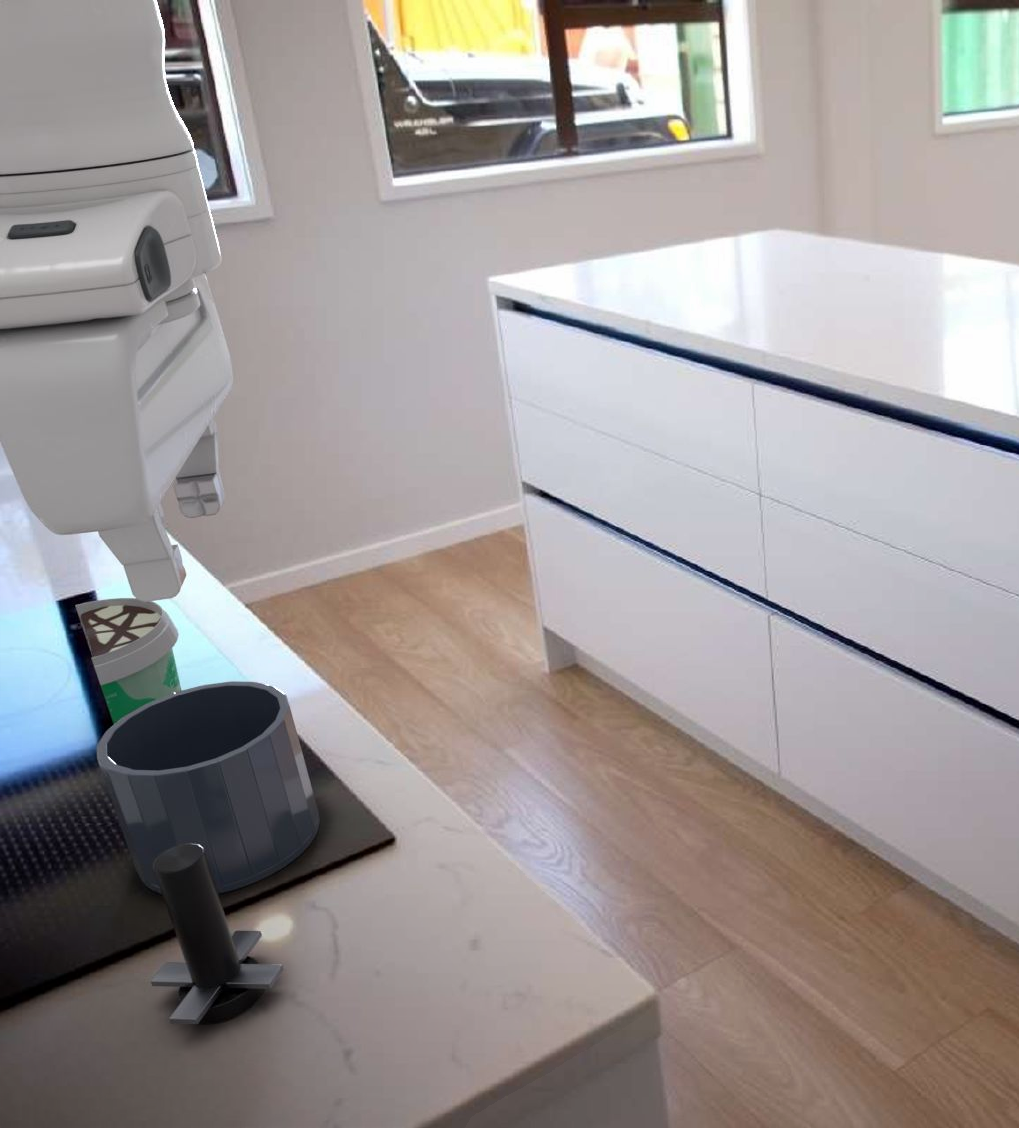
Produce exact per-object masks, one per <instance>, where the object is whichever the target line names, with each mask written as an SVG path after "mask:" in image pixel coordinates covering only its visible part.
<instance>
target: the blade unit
mask: <svg viewBox="0 0 1019 1128" xmlns="http://www.w3.org/2000/svg"><path fill="white" fill-rule="evenodd" d="M153 869H154V872H155V875H156V878H157V881H158V884H159V886H160V889H161V892H162V894H161V896H162V898H163V901H164V904H165V906H166V910H167V913H168V916H169V919H170V921H171V924H172V927H173V930H174V934H175V936H176V939H177V941H178V945H179V947H180V951H181V954H182V957H183V960H184V962H182V961H181V962H180V961H179V962H173V961H167V962H165V963H164V964H163V965H162V966H161V968H160V969H159V970H158V971H157V973H156V974H155V975H154V976H153V978H152V979H151V980H150V983H151V986H152V987H162V988H163V987H165V988H167V987H169V988H178V992H177V998H178V1001H179V1004H178V1006H177V1007H176V1008H175V1010H174V1011H173V1012H172V1014H171V1015H170V1017H169V1018H168V1020H169V1022H170V1024H173V1025H175V1024H176V1025H213V1024H214V1025H215V1024H219V1023H223V1022H227V1021H229V1020H231V1019H234V1018H236V1017H238V1016H240V1015H242V1014H244V1013H245V1012H247V1010H249V1009H250V1008H252V1007H253V1006H254V1005H255V1004H256V1003H257V1002H258V1001H259V999H260V998H261V997H262V995H263V994H264V993H263V992H264V990H271V989H273V988H272V987H273V986H274V985H275V983H276V982H277V980H278V979H279V978H280V976H281V974H282V973H283V971H284V970H285V969H284V966H283V964H276V963H275V964H274V963H272V964H271V963H268V964H267V963H259V962H258V960H256V959H255V958H254V957H251V956H249V954H250V953H251V952H252V951H253V949H254V948H255V946H256V945H257V943H259V941H260V940H261V938H262V937H263V934H262V931H261V930H235V931H234V933H231V932H232V931H231V930H230V926H229V922H228V919H227V917H226V914H225V911H224V907H223V904H222V900H221V898H220V895H219V894H218V891H217V888H216V885H215V882H214V879H213V876H212V873H211V870H210V866H209V863H208V860H207V857H206V854H205V851H204V849H203V847H201V846H200V845H198V844H183V845H178V846H175V847H173V848H170V849H168V850H166V851H165V852H163V853H162V854H160V855H159V856H158V857H157V858H156V859H155V861H154V863H153Z"/></svg>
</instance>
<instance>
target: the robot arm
mask: <svg viewBox="0 0 1019 1128" xmlns="http://www.w3.org/2000/svg"><path fill="white" fill-rule="evenodd" d="M160 12H161V11H160V9H159V5H158V1H157V0H0V445H1V448H2V450H3V452H4V455H5V457H6V460H7V463H8V464H9V466H10V469H11V471H12V474H13V476H14V478H15V480H16V483H17V486H18V488H19V490H20V492H21V495H22V496H23V499H24V501H25V502H26V505H27V506H28V508H29V510H30V511H31V513H33V515H34V516H35V517H36V518H37V519H38V520H39V521H40V522H41V523H42V525H43V526H45V528H46V529H48V530H49V531H50V532H52V533H53V534H55V535H59V536H70V535H79V534H87V533H96V532H97V533H98V536H99V538H100V539H101V541H103V543H104V544H105V545H106V547H107V548H108V549H109V551H110V552H111V554H113V555H114V556H115V558H116V559H117V561H118V562H119V563H120V565H122V566H123V569H124V573H125V575H126V578H127V582H128V585H129V588H130V591H131V594H132V596H133V598H136V599H137V600H140V601H143V602H149V601H152V602H154V601H162V600H170V599H174V598H175V597H177V596H178V595H179V594H180V592H181V589H182V586H183V584H184V582H185V580H186V577H187V572H186V568H185V566H184V564H183V558H182V553H181V550H180V547H179V544H178V543H177V544H172V543H171V540H170V538H169V535H168V534H167V531H166V529H165V526H164V524H163V521H162V520H163V518H164V517H165V512H164V509H163V505H162V500H163V498H164V497H165V496H166V494H167V492H168V490H169V489H170V487H171V486H172V487H173V491H174V493H175V498H176V500H177V502H178V508H179V511H180V513H181V514H182V515H183V516H184V517H186V518H190V519H197V518H201V517H210V516H215V515H217V514H218V513H219V512H220V510H221V508H222V507H223V505H224V503H225V501H226V498H227V495H226V492H225V487H224V484H223V480H222V477H221V472H220V461H219V460H220V458H219V442H218V427H217V424H216V420H215V415H216V414H217V412H218V410H219V408H220V407H221V406H222V404H223V402H224V401H225V399H226V398H227V396H228V394H229V392H230V391H231V390H232V388H233V385H234V374H233V372H234V371H233V364H232V359H231V354H230V351H229V348H228V343H227V339H226V336H225V333H224V330H223V326H222V323H221V320H220V315H219V312H218V310H217V307H216V303H215V299H214V297H213V294H212V291H211V287H210V284H209V281H208V277H207V275H206V274H207V273H210V272H212V271H213V270H215V269H217V268H218V267H219V266H221V264H222V262H223V256H222V253H221V249H220V245H219V240H218V237H217V234H216V229H215V225H214V221H213V217H212V214H211V210H210V206H209V202H208V198H207V194H206V190H205V186H204V182H203V178H202V175H201V171H200V167H199V162H198V158H197V154H196V150H195V148H194V142H193V139H192V137H191V134H190V132H189V131H188V128H187V127H186V125H185V123H184V121H183V120H182V118H181V117H180V115H179V113H178V110H177V109H176V107H175V105H174V102H173V100H172V96H171V94H170V91H169V87H168V84H167V78H166V71H165V70H166V69H165V47H166V38H165V28H164V24H163V23H164V22H163V19H162V17H161V16H162V15H161V13H160Z"/></svg>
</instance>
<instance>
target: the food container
mask: <svg viewBox="0 0 1019 1128" xmlns="http://www.w3.org/2000/svg"><path fill="white" fill-rule="evenodd" d="M75 609H76V612H77V615H78V618H79V621H80V624H81V627H82V630H83V633H84V636H85V639H86V642H87V645H88V648H89V651H90V654H91V656H92V657H91V661H92V665H93V668H94V671H95V673H96V676H97V679H98V682H99V685H100V688H101V691H102V694H103V697H104V699H105V702H106V705H107V708H108V711H109V715H110V718H111V720H112V723H113V725H114V724H115V723H117V722H118V721H119V720H120V719H121V718H123V717H124V716H126V715H127V714H129V713H131V712H133V711H135V710H136V709H138V708H140V707H142V706H143V705H145V704H148V703H149V702H152V701H155V700H157V699H160V698H162V697H165V696H167V695H170V694H172V693H175V692H179V691H182V687H181V682H180V677H179V672H178V669H177V664H176V663H177V662H176V659H175V655H174V649H173V647H175V645H176V643H177V642H178V639H179V631H178V628H177V626H176V625H175V623H174V622H173V619H172V618H171V616H170V615H169V614H168V612H167V611H165V610H164V609H163V607H162V606H161V605H159V604H158V603H157V602H154V601H149V602H143V601H140V600H137V599H136V598H135V597H118V598H117V597H115V598H105V599H99V600H93V601H87V602H83V603H79V604H75Z"/></svg>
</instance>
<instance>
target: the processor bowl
mask: <svg viewBox="0 0 1019 1128" xmlns="http://www.w3.org/2000/svg"><path fill="white" fill-rule="evenodd" d="M181 690H182V689H181ZM290 705H291V704H290V703H289V699H288V696H287V695H286V693H284V692H283V691H281V689H278V688H277V687H275V686H273V685H270V684H266V683H262V682H257V681H239V680H238V681H237V680H236V681H235V680H234V681H233V680H232V681H231V680H230V681H224V682H216V683H209V684H202V685H197V686H194V687H190V688H186V689H183V690H182V691H179V692H175V693H172V694H170V695H167V696H165V697H162V698H160V699H157V700H155V701H152V702H149V703H148V704H145V705H143V706H142V707H140V708H138V709H136V710H135V711H133V712H131V713H129V714H127V715H126V716H124V717H123V718H121V719H120V720H119V721H118V722H117V723H115V724H114V723H113V725H112V726H110V728H108V729H107V730H106V731H105V732H104V734H103V735H102V737H101V739H100V740H99V742H98V743H97V745H96V760H97V763H98V766H99V769H100V771H101V774H102V778H103V780H104V783H105V785H106V789H107V792H108V794H109V797H110V800H111V803H112V806H113V809H114V812H115V814H116V817H117V820H118V822H119V826H120V828H121V830H122V831H121V832H122V834H123V838H124V840H125V843H126V846H127V848H128V851H129V855H130V858H131V860H132V863H133V866H134V869H135V872H137V874H138V877H139V878H140V881H141V882H142V883H143V885H144V886H145V887H147V888H148V889H149V890H151V891H153V892H155V893H158V894H160V895H162V892H161V889H160V886H159V884H158V881H157V878H156V875H155V872H154V869H153V863H154V861H155V859H156V858H157V857H158V856H159V855H160V854H162V853H163V852H165V851H166V850H168V849H170V848H173V847H175V846H178V845H183V844H198V845H200V846H201V847H203V849H204V851H205V854H206V857H207V860H208V863H209V866H210V870H211V873H212V876H213V879H214V882H215V885H216V888H217V891H218V894H223V893H224V894H225V893H228V892H231V891H235V890H239V889H241V888H244V887H247V886H250V885H252V884H255V883H257V882H260V881H263V880H264V879H266V878H268V877H270V876H272V875H274V874H275V873H277V872H279V871H281V870H282V869H284V868H286V867H287V866H289V864H291V863H292V862H294V861H295V860H296V859H298V858H299V857H300V856H301V855H302V854H303V853H304V852H305V851H306V850H307V849H308V848H309V847H310V845H311V844H312V843H313V842H314V840H315V838H316V836H317V834H318V831H319V829H320V822H321V819H320V814H319V809H318V805H317V802H316V798H315V794H314V790H313V786H312V784H311V779H310V776H309V772H308V769H307V764H306V761H305V758H304V757H305V756H304V755H303V750H302V747H301V743H300V740H299V736H298V735H299V734H298V731H297V727H296V724H295V721H294V717H293V713H292V710H291V706H290Z"/></svg>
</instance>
